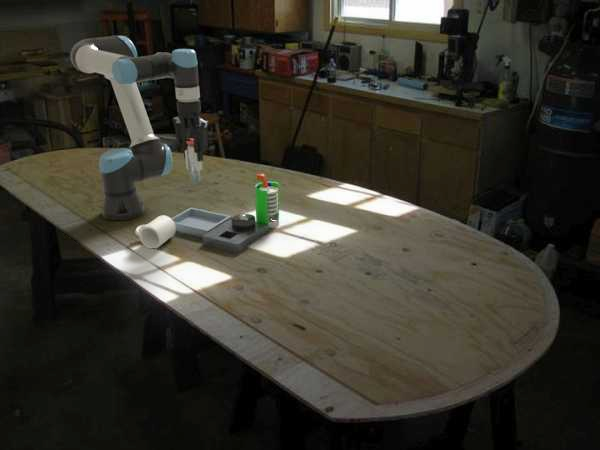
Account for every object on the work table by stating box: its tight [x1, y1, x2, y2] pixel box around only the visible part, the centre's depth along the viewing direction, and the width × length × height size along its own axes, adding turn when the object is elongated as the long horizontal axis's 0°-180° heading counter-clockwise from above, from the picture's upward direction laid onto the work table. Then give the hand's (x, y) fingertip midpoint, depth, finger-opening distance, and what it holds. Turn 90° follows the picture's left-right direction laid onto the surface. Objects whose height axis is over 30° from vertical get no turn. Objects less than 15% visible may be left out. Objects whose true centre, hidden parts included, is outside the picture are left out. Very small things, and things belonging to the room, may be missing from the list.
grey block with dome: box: [202, 213, 269, 254], centre depth 201 cm, size 14×18×7 cm
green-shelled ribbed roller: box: [254, 173, 280, 229], centre depth 209 cm, size 9×8×18 cm
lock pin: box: [186, 137, 201, 183], centre depth 202 cm, size 4×4×14 cm
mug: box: [134, 214, 177, 250], centre depth 199 cm, size 12×10×8 cm
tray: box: [170, 207, 233, 239], centre depth 211 cm, size 18×14×3 cm
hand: (194, 169), depth 203 cm, fingers closed on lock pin, 3 cm apart
